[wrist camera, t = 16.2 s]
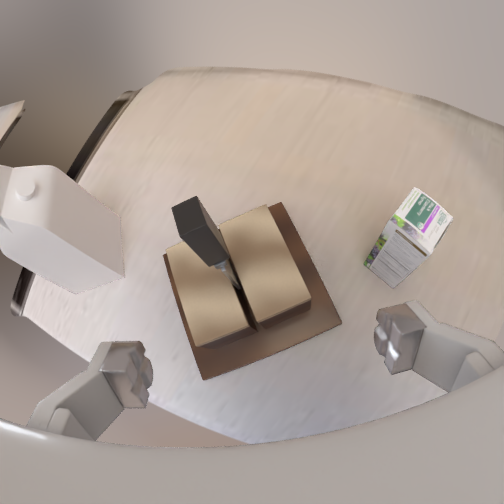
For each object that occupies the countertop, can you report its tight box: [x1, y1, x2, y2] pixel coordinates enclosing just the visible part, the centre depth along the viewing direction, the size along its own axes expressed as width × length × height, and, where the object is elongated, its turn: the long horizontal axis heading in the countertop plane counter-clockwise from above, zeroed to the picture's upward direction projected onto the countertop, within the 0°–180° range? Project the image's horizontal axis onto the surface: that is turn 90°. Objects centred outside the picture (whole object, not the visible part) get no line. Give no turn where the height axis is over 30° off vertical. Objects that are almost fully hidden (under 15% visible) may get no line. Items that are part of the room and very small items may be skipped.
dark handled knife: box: [172, 196, 241, 290], centre depth 28 cm, size 4×2×15 cm, turn 22°
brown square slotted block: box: [163, 202, 342, 380], centre depth 38 cm, size 20×20×8 cm
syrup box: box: [364, 187, 453, 288], centre depth 32 cm, size 6×6×14 cm
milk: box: [0, 165, 125, 294], centre depth 36 cm, size 12×12×26 cm
